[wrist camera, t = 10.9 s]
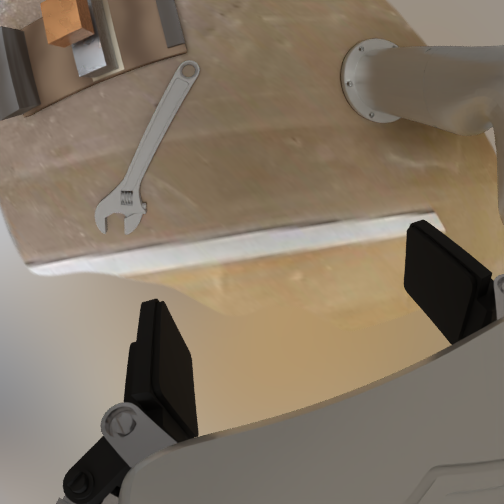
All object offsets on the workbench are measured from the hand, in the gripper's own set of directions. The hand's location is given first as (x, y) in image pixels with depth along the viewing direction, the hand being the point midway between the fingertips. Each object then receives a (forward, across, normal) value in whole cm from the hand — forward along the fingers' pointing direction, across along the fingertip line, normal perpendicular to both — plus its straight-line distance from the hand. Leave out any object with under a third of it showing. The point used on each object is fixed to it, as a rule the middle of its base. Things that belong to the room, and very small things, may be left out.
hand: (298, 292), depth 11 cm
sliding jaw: (+30, +10, -18) cm, 36 cm away
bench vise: (+32, +12, -18) cm, 39 cm away
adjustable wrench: (+33, +9, -1) cm, 34 cm away
